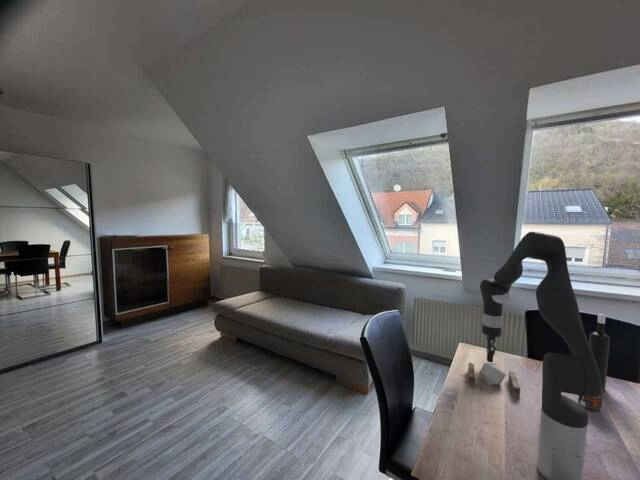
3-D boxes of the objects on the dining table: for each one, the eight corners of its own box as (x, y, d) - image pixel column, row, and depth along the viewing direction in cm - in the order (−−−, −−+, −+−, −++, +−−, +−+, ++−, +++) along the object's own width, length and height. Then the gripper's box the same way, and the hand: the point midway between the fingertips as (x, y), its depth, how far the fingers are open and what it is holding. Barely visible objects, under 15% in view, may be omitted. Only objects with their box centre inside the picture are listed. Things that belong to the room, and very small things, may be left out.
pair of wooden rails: (519, 398, 107) (520, 388, 107) (468, 386, 114) (469, 377, 114) (514, 381, 118) (514, 372, 117) (468, 371, 125) (468, 362, 125)
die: (504, 393, 111) (512, 370, 113) (483, 381, 112) (492, 358, 114) (491, 388, 119) (500, 367, 121) (472, 376, 120) (481, 355, 122)
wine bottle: (581, 383, 116) (588, 312, 113) (590, 380, 118) (597, 310, 115) (599, 392, 110) (607, 317, 107) (608, 388, 112) (615, 315, 109)
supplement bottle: (583, 411, 100) (586, 381, 99) (574, 400, 106) (576, 371, 104) (605, 414, 98) (608, 383, 97) (594, 403, 104) (597, 374, 103)
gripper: (504, 330, 117) (501, 370, 119) (500, 320, 129) (497, 356, 130) (483, 327, 120) (481, 366, 122) (481, 317, 132) (479, 352, 134)
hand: (489, 361), depth 126 cm, fingers closed
